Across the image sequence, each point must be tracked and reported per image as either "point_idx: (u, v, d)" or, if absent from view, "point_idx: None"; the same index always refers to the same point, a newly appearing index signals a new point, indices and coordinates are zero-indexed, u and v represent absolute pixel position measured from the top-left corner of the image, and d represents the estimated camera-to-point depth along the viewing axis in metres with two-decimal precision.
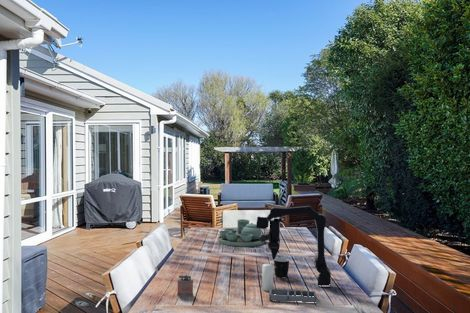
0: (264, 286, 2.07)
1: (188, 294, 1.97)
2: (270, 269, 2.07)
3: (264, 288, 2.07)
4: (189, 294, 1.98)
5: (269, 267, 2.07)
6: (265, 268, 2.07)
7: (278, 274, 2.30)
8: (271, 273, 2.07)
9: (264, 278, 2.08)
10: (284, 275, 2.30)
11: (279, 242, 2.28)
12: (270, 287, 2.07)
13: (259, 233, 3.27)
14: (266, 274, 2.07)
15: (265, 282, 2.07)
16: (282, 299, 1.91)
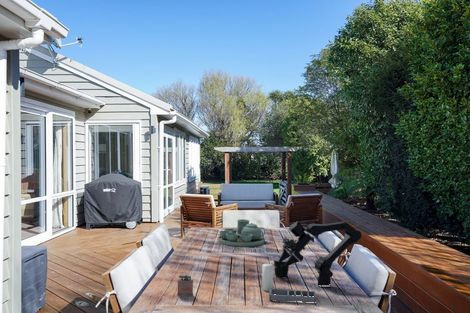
0: (264, 286, 2.07)
1: (188, 294, 1.97)
2: (270, 269, 2.07)
3: (264, 288, 2.07)
4: (189, 294, 1.98)
5: (269, 267, 2.07)
6: (265, 268, 2.07)
7: (278, 274, 2.30)
8: (271, 273, 2.07)
9: (264, 278, 2.08)
10: (284, 275, 2.30)
11: (289, 254, 2.20)
12: (270, 287, 2.07)
13: (259, 233, 3.27)
14: (266, 274, 2.07)
15: (265, 282, 2.07)
16: (282, 299, 1.91)
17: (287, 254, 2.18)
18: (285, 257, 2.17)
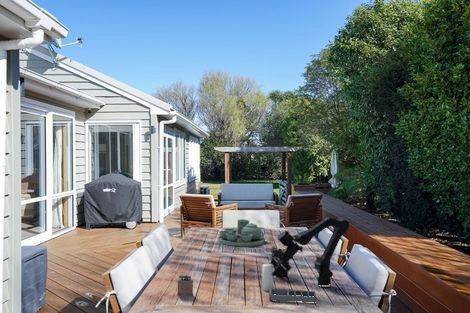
0: (264, 286, 2.07)
1: (188, 294, 1.97)
2: (270, 269, 2.07)
3: (264, 288, 2.07)
4: (189, 294, 1.98)
5: (269, 267, 2.07)
6: (265, 268, 2.07)
7: (278, 274, 2.30)
8: (271, 273, 2.07)
9: (264, 278, 2.08)
10: (284, 275, 2.30)
11: (277, 263, 2.19)
12: (270, 287, 2.07)
13: (259, 233, 3.27)
14: (266, 274, 2.07)
15: (265, 282, 2.07)
16: (282, 299, 1.91)
17: (275, 263, 2.16)
18: None
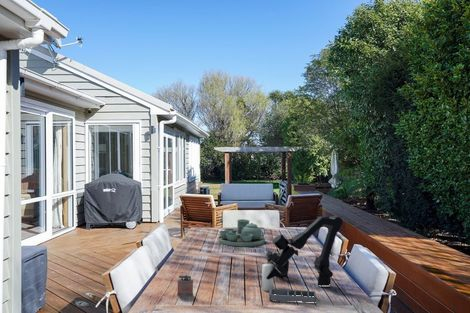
0: (264, 286, 2.07)
1: (188, 294, 1.97)
2: (270, 269, 2.07)
3: (264, 288, 2.07)
4: (189, 294, 1.98)
5: (269, 267, 2.07)
6: (265, 268, 2.07)
7: None
8: None
9: (264, 278, 2.08)
10: (284, 275, 2.30)
11: None
12: (270, 287, 2.07)
13: (259, 233, 3.27)
14: (266, 274, 2.07)
15: (265, 282, 2.07)
16: (282, 299, 1.91)
17: None
18: None
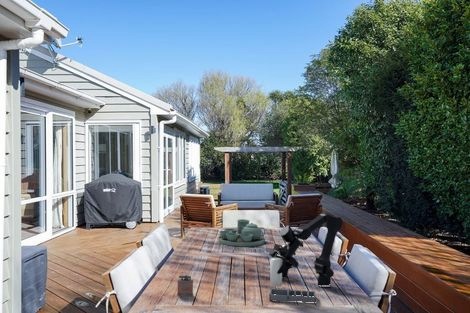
0: (274, 281, 1.97)
1: (188, 294, 1.97)
2: (280, 263, 1.97)
3: (274, 284, 1.97)
4: (189, 294, 1.98)
5: (279, 261, 1.97)
6: (275, 262, 1.97)
7: None
8: None
9: (274, 273, 1.97)
10: (284, 275, 2.30)
11: None
12: (280, 282, 1.97)
13: (259, 233, 3.27)
14: (277, 268, 1.96)
15: (275, 277, 1.96)
16: (282, 299, 1.91)
17: None
18: None
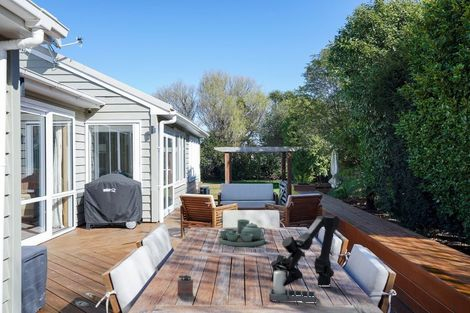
0: None
1: (188, 294, 1.97)
2: (284, 276, 1.95)
3: None
4: (189, 294, 1.98)
5: (283, 274, 1.94)
6: (279, 276, 1.94)
7: None
8: None
9: (278, 287, 1.94)
10: None
11: None
12: None
13: (259, 233, 3.27)
14: (281, 282, 1.94)
15: (279, 291, 1.94)
16: (282, 299, 1.91)
17: None
18: None
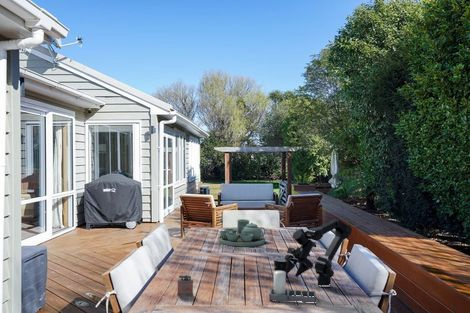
0: None
1: (188, 294, 1.97)
2: (284, 276, 1.95)
3: None
4: (189, 294, 1.98)
5: (283, 274, 1.94)
6: (279, 276, 1.94)
7: None
8: (285, 280, 1.95)
9: (278, 287, 1.94)
10: None
11: None
12: None
13: (259, 233, 3.27)
14: (281, 282, 1.94)
15: (279, 291, 1.94)
16: (282, 299, 1.91)
17: (292, 264, 2.10)
18: (290, 268, 2.09)
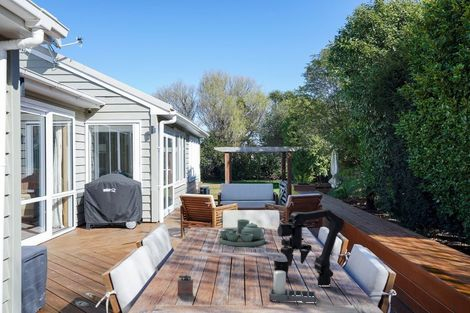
0: None
1: (188, 294, 1.97)
2: (284, 276, 1.95)
3: None
4: (189, 294, 1.98)
5: (283, 274, 1.94)
6: (279, 276, 1.94)
7: None
8: (285, 280, 1.95)
9: (278, 287, 1.94)
10: None
11: (309, 251, 2.14)
12: None
13: (259, 233, 3.27)
14: (281, 282, 1.94)
15: (279, 291, 1.94)
16: (282, 299, 1.91)
17: (303, 252, 2.14)
18: (303, 256, 2.13)
